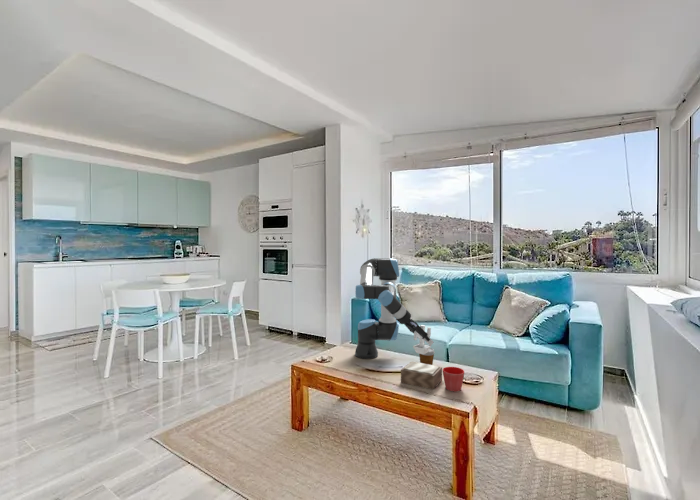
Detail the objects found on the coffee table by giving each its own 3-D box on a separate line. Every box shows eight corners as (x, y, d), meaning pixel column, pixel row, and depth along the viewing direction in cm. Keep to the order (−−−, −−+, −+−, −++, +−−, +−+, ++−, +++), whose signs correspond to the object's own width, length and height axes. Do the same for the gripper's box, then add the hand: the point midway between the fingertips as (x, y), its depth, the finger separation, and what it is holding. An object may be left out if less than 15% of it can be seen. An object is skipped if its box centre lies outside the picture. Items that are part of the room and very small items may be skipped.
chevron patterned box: (400, 382, 199) (400, 368, 199) (410, 373, 212) (410, 360, 212) (433, 389, 190) (433, 374, 190) (441, 379, 203) (442, 366, 203)
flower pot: (451, 394, 184) (452, 375, 184) (438, 386, 194) (438, 368, 194) (468, 391, 188) (469, 372, 188) (454, 383, 198) (454, 365, 198)
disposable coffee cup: (416, 370, 217) (416, 350, 216) (420, 366, 225) (421, 346, 225) (432, 373, 212) (432, 352, 212) (436, 368, 221) (436, 348, 220)
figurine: (416, 349, 206) (417, 322, 205) (432, 352, 200) (433, 325, 200) (410, 352, 200) (411, 325, 200) (427, 356, 194) (427, 327, 194)
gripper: (388, 315, 204) (413, 342, 210) (406, 323, 185) (433, 352, 191) (396, 305, 206) (421, 332, 212) (415, 312, 186) (442, 341, 192)
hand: (427, 341), depth 201 cm, fingers closed on figurine, 8 cm apart
